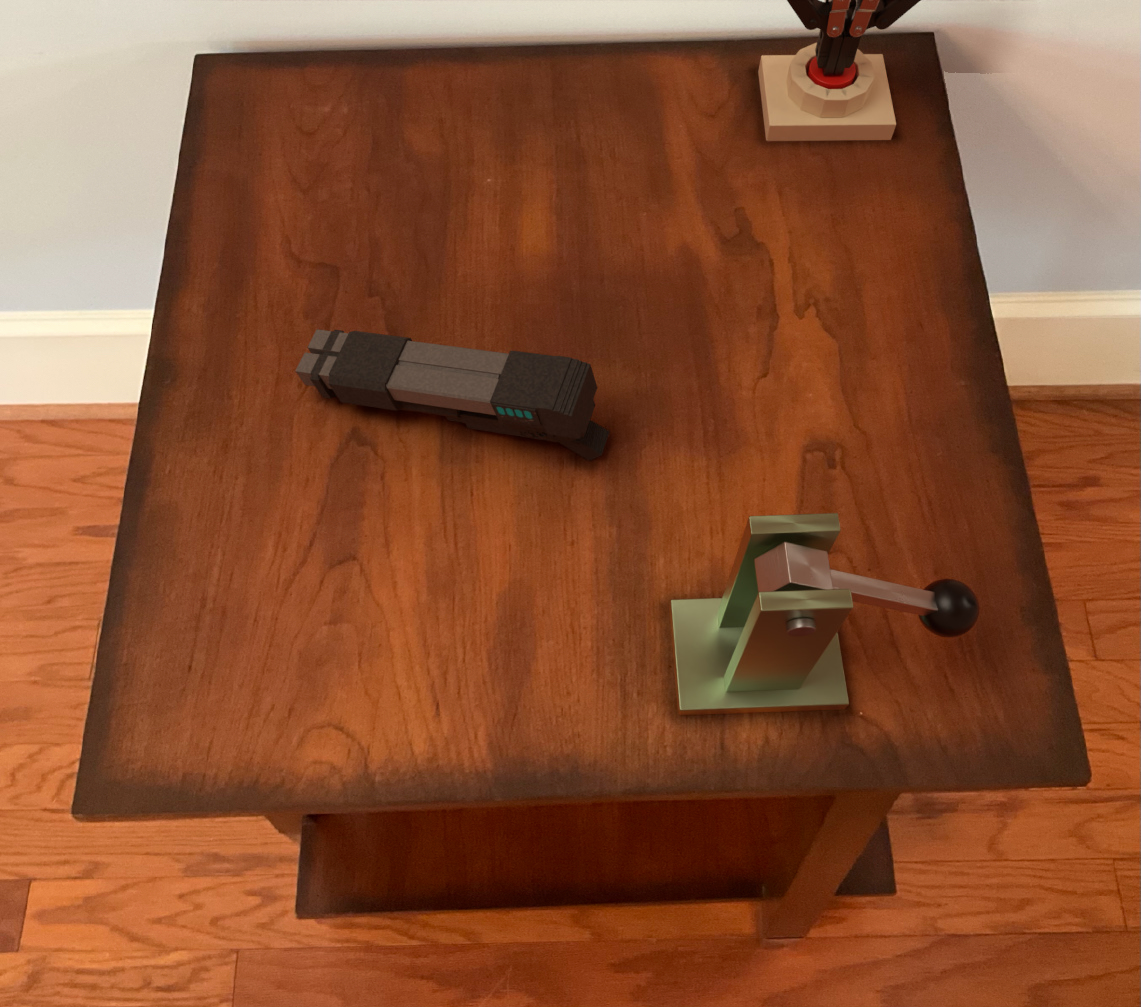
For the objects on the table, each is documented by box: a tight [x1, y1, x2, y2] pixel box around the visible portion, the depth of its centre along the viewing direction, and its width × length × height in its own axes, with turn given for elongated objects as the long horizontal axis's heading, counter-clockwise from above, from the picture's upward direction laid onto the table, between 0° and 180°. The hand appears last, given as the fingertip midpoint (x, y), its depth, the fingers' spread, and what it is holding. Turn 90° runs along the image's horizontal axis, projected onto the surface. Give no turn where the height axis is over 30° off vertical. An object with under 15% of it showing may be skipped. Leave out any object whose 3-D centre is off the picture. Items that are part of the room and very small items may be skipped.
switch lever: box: [755, 542, 980, 638], centre depth 53 cm, size 14×3×3 cm, turn 92°
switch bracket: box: [668, 512, 854, 716], centre depth 55 cm, size 10×7×15 cm
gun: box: [294, 328, 610, 462], centre depth 68 cm, size 4×20×10 cm, turn 73°
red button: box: [807, 57, 856, 89], centre depth 80 cm, size 4×4×2 cm
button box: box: [757, 42, 897, 142], centre depth 81 cm, size 10×8×4 cm
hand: (831, 67), depth 80 cm, fingers closed
